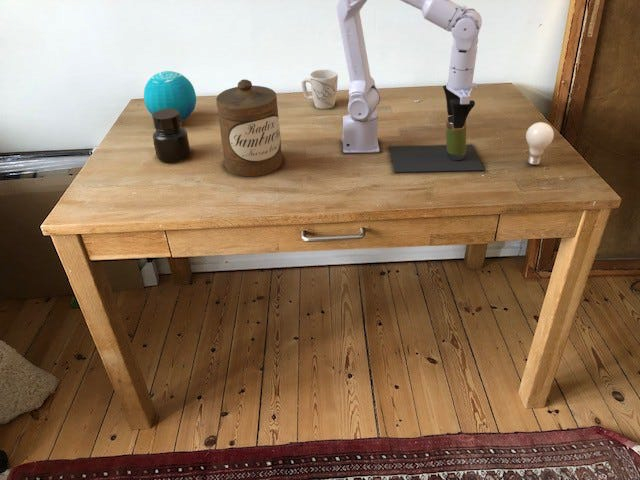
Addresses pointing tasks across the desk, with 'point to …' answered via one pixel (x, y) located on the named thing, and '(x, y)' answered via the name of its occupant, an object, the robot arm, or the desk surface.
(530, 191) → the desk surface
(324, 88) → the mug
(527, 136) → the lightbulb
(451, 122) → the can
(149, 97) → the decorative orb
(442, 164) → the mat
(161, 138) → the ink bottle
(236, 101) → the wooden container
